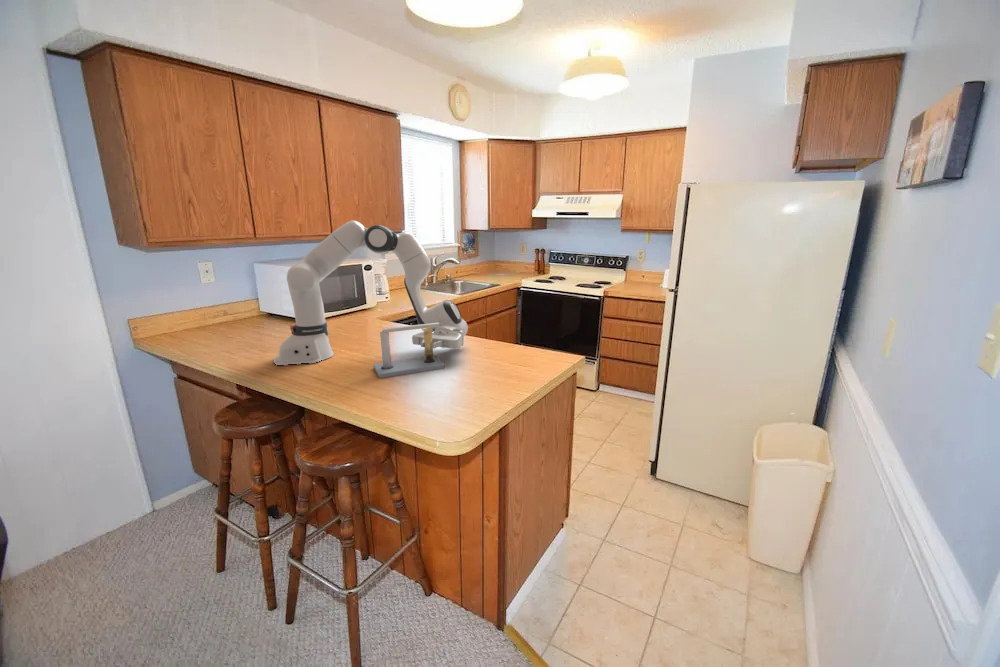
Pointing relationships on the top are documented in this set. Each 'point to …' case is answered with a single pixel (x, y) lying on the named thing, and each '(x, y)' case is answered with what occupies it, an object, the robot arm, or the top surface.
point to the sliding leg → (428, 343)
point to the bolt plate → (403, 365)
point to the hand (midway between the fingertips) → (427, 345)
